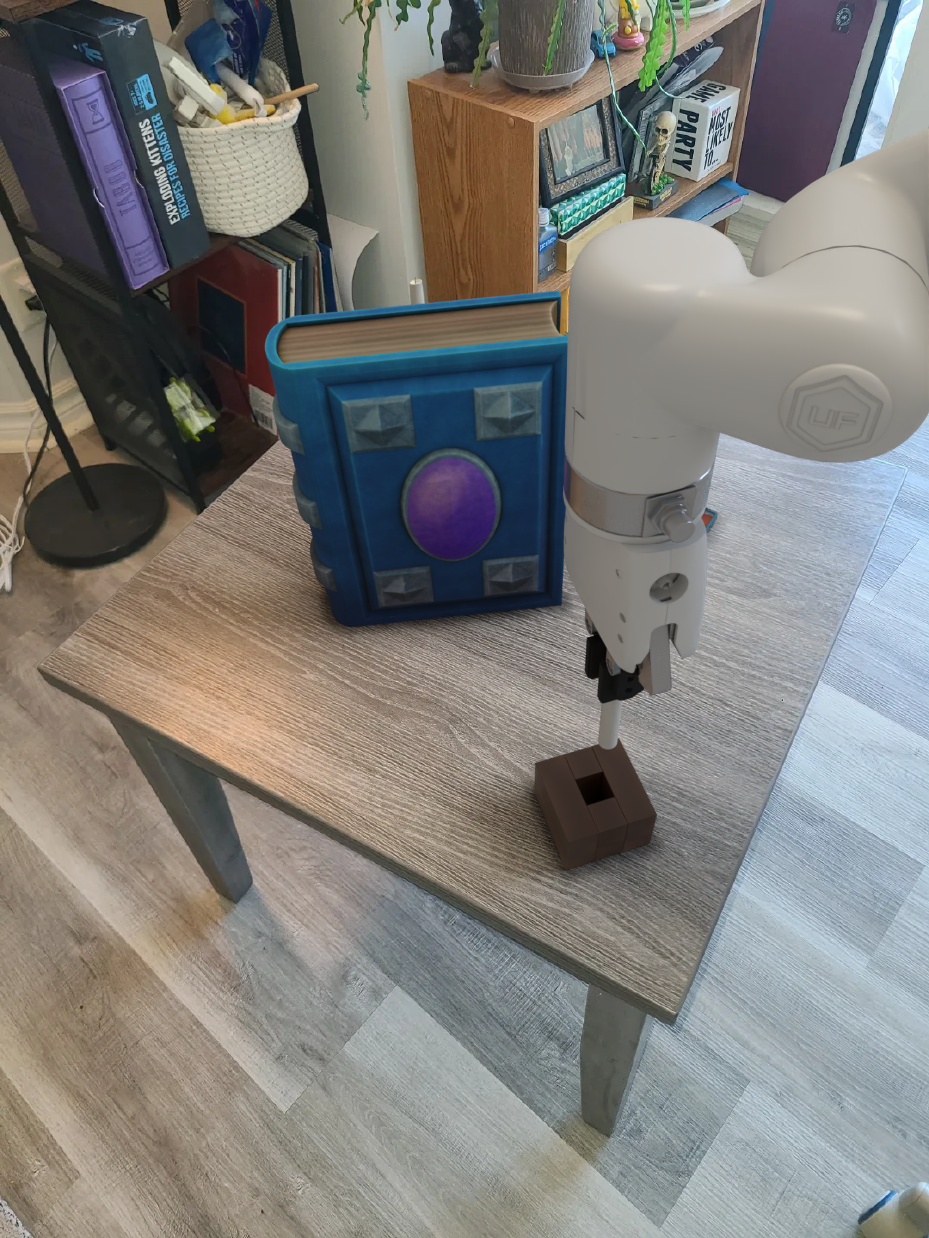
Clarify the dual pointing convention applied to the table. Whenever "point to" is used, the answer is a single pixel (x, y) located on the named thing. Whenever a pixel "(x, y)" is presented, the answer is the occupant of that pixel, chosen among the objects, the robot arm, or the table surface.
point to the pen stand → (600, 825)
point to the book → (428, 453)
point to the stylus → (609, 724)
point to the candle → (416, 292)
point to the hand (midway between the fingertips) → (614, 681)
